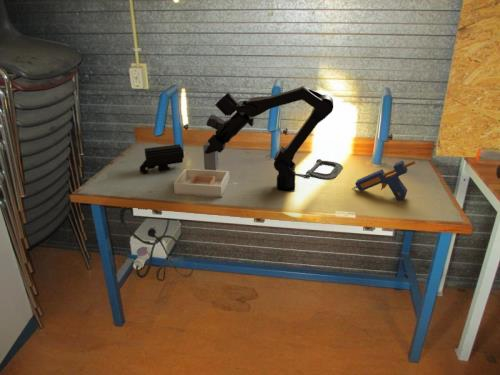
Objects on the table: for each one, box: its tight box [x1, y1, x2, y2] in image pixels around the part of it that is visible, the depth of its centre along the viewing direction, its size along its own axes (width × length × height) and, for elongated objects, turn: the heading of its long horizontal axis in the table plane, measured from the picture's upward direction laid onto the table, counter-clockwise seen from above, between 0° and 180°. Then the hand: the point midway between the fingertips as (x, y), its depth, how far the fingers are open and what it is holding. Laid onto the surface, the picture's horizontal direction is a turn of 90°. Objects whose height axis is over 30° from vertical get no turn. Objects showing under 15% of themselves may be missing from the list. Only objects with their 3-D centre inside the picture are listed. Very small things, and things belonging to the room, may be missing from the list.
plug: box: [202, 140, 220, 171], centre depth 153 cm, size 4×4×10 cm
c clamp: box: [295, 158, 344, 180], centre depth 168 cm, size 20×17×3 cm
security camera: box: [139, 144, 185, 175], centre depth 167 cm, size 7×18×10 cm, turn 110°
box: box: [173, 168, 230, 198], centre depth 153 cm, size 18×14×4 cm
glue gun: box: [351, 160, 416, 201], centre depth 145 cm, size 5×25×12 cm
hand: (207, 150), depth 153 cm, fingers closed on plug, 4 cm apart
